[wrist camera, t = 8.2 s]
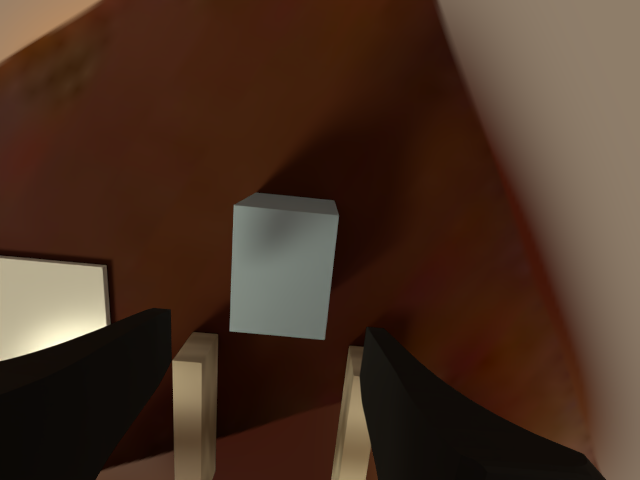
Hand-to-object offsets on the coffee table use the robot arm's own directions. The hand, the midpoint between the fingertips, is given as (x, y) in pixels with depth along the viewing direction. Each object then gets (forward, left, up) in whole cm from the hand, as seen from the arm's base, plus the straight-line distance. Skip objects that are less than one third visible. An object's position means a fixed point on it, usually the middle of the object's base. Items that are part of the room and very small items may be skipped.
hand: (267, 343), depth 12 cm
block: (+1, 0, -8) cm, 9 cm away
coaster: (-5, +15, -8) cm, 18 cm away
